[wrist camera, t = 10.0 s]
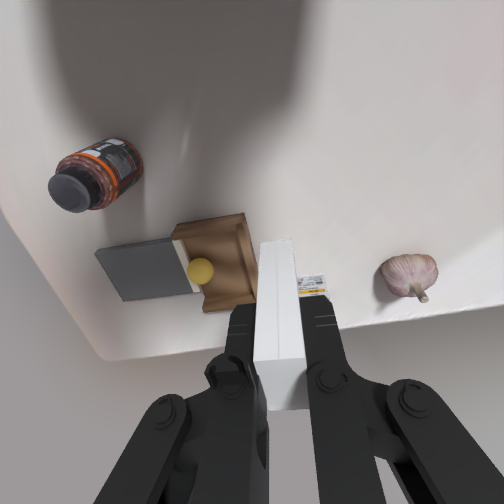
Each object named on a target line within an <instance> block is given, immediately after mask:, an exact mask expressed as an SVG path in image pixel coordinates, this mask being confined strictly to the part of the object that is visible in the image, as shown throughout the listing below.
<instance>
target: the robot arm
mask: <svg viewBox="0 0 504 504" xmlns="http://www.w3.org/2000/svg"><path fill="white" fill-rule="evenodd" d="M204 374H205V376H206V378H207V380H208V382H209V384H210V386H211V387H210V388H209V389H207V390H205V391H203V392H201V393H199V394H196V395H194V396H192V397H189V398H187V399H183V398H182V397H181V396H179V395H176V394H167V395H165V396H162V397H160V398H159V399H157V400H156V401H155V402H153V403H152V405H151V406H150V407H149V408H148V410H147V411H146V412H145V414H144V416H143V418H142V419H141V421H140V423H139V425H138V426H137V428H136V430H135V432H134V433H133V435H132V437H131V439H130V440H129V442H128V444H127V446H126V447H125V449H124V451H123V453H122V455H121V456H120V458H119V460H118V461H117V463H116V465H115V467H114V468H113V470H112V472H111V474H110V475H109V477H108V479H107V481H106V482H105V484H104V486H103V487H102V489H101V491H100V493H99V495H98V496H97V498H96V500H95V502H94V503H93V504H269V427H268V422H267V419H266V418H267V417H266V416H267V407H268V410H269V411H272V410H273V411H275V410H296V409H310V417H311V425H312V435H313V444H314V453H315V462H316V470H317V481H318V490H319V499H320V504H386V500H385V496H384V492H383V489H382V484H381V481H380V477H379V473H378V469H377V466H376V461H375V458H374V456H376V457H379V458H382V459H386V460H387V462H388V464H389V466H390V468H391V470H392V472H393V474H394V476H395V478H396V480H397V482H398V484H399V486H400V487H401V489H402V491H403V493H404V495H405V497H406V499H407V501H408V503H409V504H504V477H503V475H502V474H501V473H500V472H499V470H498V469H497V468H496V467H495V465H494V464H493V463H492V462H491V460H490V459H489V458H488V456H487V455H486V454H485V453H484V451H483V450H482V449H481V448H480V446H479V445H478V444H477V443H476V441H475V440H474V439H473V437H472V436H471V435H470V434H469V432H468V431H467V430H466V429H465V428H464V426H463V425H462V424H461V422H460V421H459V420H458V419H457V417H456V416H455V415H454V413H453V412H452V411H451V410H450V408H449V407H448V406H447V405H446V403H445V402H444V401H443V400H442V398H441V397H440V396H439V395H438V394H437V393H436V392H435V391H434V390H433V389H432V388H431V387H429V386H428V385H426V384H424V383H422V382H420V381H416V380H412V379H402V380H398V381H396V382H394V383H392V384H391V385H390V386H388V385H384V384H380V383H376V382H372V381H369V380H366V379H364V378H362V377H361V376H359V375H357V374H356V373H355V372H354V371H353V370H352V369H351V368H350V366H349V365H348V362H347V360H346V357H345V352H344V349H343V345H342V341H341V337H340V333H339V329H338V325H337V321H336V317H335V313H334V309H333V306H332V303H331V302H330V301H329V299H328V298H327V297H326V296H325V295H315V296H306V297H299V289H298V281H297V274H296V267H295V260H294V253H293V246H292V239H291V238H290V239H283V240H276V241H269V242H262V243H260V257H259V274H258V290H257V303H248V304H239V305H236V307H235V309H234V310H233V312H232V313H231V315H230V321H229V327H228V336H227V340H226V346H225V352H224V353H222V354H220V355H218V356H217V357H215V358H213V360H212V361H211V362H210V363H209V364H208V365H207V368H206V370H205V372H204Z"/></svg>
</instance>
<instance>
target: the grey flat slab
mask: <svg viewBox="0 0 504 504" xmlns="http://www.w3.org/2000/svg"><path fill="white" fill-rule="evenodd" d="M95 256H96V257H97V259H98V261H99V262H100V264H101V266H102V267H103V269H104V270H105V272H106V274H107V275H108V277H109V279H110V280H111V282H112V284H113V285H114V287H115V288H116V290H117V292H118V293H119V295H120V297H121V298H122V300H123V302H124V301H131V300H139V299H147V298H155V297H163V296H171V295H179V294H186V293H194V292H201V289H202V288H201V285H199V284H195V283H193V282H192V281H191V280H190V279H189V278H188V276H187V267H188V265H189V263H190V262H191V260H190V257H189V255H188V252H187V250H186V247H185V245H184V242H183V240H182V239H181V240H175V241H174V240H173V238H167V239H160V240H154V241H148V242H142V243H136V244H130V245H123V246H117V247H111V248H105V249H99V250H97V252H96V253H95Z"/></svg>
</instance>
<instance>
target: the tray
mask: <svg viewBox="0 0 504 504" xmlns="http://www.w3.org/2000/svg"><path fill="white" fill-rule="evenodd" d="M171 235H172V238H173V240H174V241H175V240H181V239H182V240H183V242H184V245H185V247H186V250H187V252H188V255H189V257H190V260H191V261H193V260H194V259H197V258H204V259H207V260H208V261H210V262H211V264H212V265H213V268H214V274H213V277H212V278H211V280H210V281H209V282H207V283H205V284H200V285H201V288H202V290H203V293H204V295H205V300H204V303H203V307H202V309H203V312H204V313H205V312H214V311H223V310H231V309H235V307H236V305H239V304H248V303H257V290H258V274H259V271H258V267H257V263H256V259H255V255H254V251H253V247H252V242H251V238H250V234H249V230H248V226H247V222H246V218H245V214H244V213H241V214H235V215H229V216H223V217H217V218H211V219H205V220H199V221H193V222H188V223H182V224H177V226H176V227H175V229H174V231H173V232H172V234H171Z"/></svg>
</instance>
